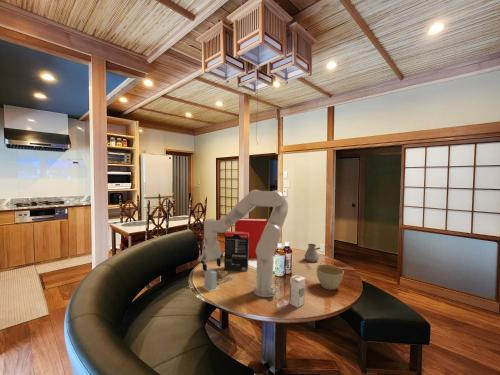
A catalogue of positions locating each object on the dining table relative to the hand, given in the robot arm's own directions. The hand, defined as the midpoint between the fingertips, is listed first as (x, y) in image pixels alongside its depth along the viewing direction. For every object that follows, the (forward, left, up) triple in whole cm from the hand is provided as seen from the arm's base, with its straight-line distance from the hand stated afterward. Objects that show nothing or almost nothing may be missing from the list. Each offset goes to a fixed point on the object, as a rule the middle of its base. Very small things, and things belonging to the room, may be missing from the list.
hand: (212, 268), depth 138 cm
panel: (+1, +1, -12) cm, 12 cm away
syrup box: (-44, -24, -12) cm, 52 cm away
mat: (+1, +1, -12) cm, 12 cm away
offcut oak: (+5, -11, -13) cm, 18 cm away
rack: (+10, -11, -12) cm, 19 cm away
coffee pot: (-16, -85, -12) cm, 88 cm away
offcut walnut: (+5, -12, -10) cm, 16 cm away
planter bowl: (-45, -56, -12) cm, 73 cm away
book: (+26, -55, -12) cm, 62 cm away
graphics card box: (+13, -29, -12) cm, 34 cm away
